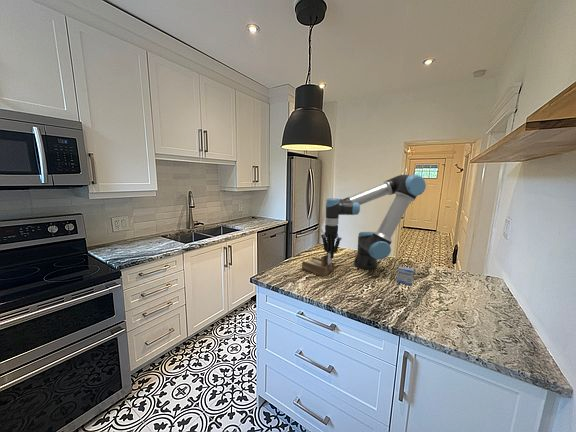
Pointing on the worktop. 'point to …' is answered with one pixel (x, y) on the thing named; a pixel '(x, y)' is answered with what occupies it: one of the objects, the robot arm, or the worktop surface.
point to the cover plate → (320, 263)
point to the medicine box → (405, 275)
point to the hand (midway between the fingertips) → (329, 262)
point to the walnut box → (318, 268)
